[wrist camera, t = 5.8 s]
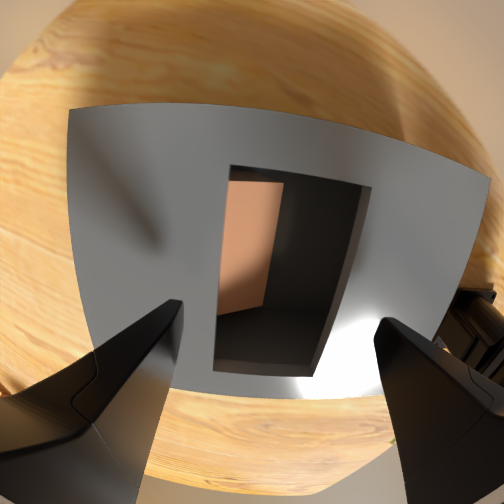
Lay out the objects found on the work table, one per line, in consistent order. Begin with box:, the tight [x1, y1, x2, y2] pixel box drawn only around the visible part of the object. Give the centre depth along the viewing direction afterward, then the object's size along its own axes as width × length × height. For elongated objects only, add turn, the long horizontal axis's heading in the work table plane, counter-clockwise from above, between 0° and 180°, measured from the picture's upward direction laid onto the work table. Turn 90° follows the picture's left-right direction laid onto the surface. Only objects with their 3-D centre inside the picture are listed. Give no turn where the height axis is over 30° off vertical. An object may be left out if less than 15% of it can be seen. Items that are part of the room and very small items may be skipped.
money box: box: [67, 103, 491, 399], centre depth 13 cm, size 16×12×8 cm
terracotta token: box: [217, 170, 284, 315], centre depth 14 cm, size 3×6×4 cm
